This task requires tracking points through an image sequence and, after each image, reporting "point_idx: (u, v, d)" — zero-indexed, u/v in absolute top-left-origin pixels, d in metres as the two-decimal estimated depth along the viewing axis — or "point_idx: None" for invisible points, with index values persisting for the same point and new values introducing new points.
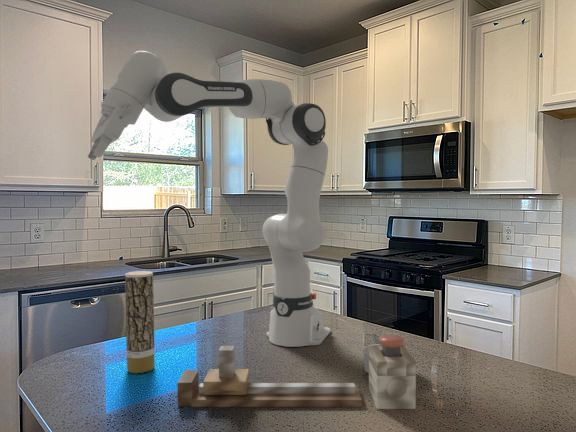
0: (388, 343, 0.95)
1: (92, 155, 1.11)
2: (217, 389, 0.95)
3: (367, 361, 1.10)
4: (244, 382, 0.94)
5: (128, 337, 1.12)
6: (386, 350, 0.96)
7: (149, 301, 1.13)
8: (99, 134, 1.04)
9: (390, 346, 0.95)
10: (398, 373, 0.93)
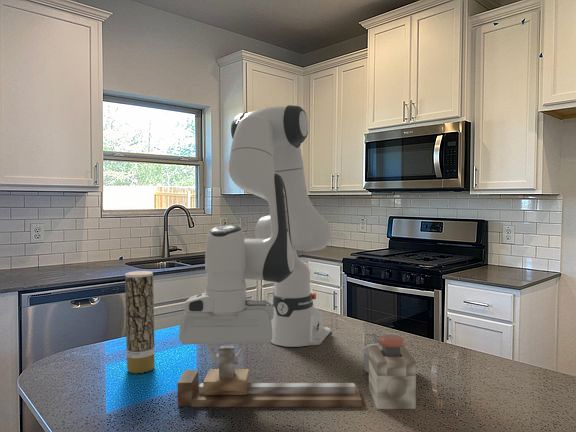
0: (388, 343, 0.95)
1: None
2: (217, 389, 0.95)
3: (367, 360, 1.11)
4: (244, 382, 0.94)
5: (128, 337, 1.12)
6: (386, 350, 0.96)
7: (149, 301, 1.13)
8: (243, 343, 0.96)
9: (390, 346, 0.95)
10: (398, 373, 0.93)
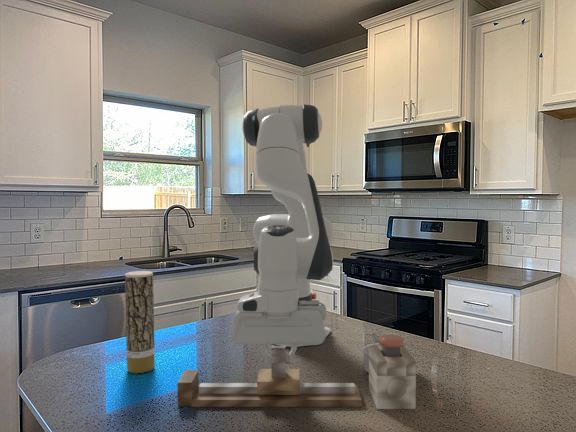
0: (388, 343, 0.95)
1: None
2: (271, 389, 0.94)
3: (367, 360, 1.11)
4: (298, 382, 0.94)
5: (128, 337, 1.12)
6: (386, 350, 0.96)
7: (149, 301, 1.13)
8: (296, 343, 0.96)
9: (390, 346, 0.95)
10: (398, 373, 0.93)
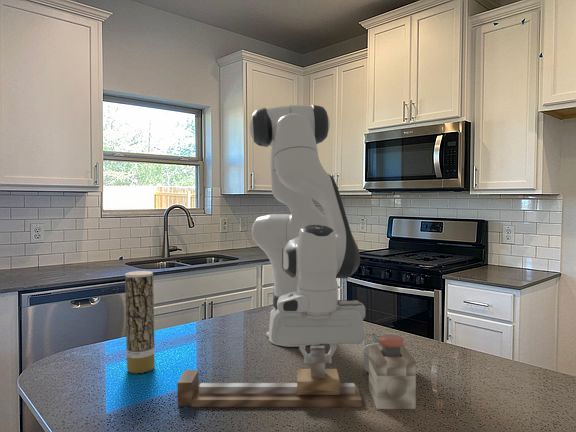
0: (388, 343, 0.95)
1: None
2: (311, 389, 0.94)
3: (366, 360, 1.11)
4: (338, 382, 0.94)
5: (128, 337, 1.12)
6: (386, 350, 0.96)
7: (149, 301, 1.13)
8: (336, 343, 0.96)
9: (390, 346, 0.95)
10: (398, 373, 0.93)
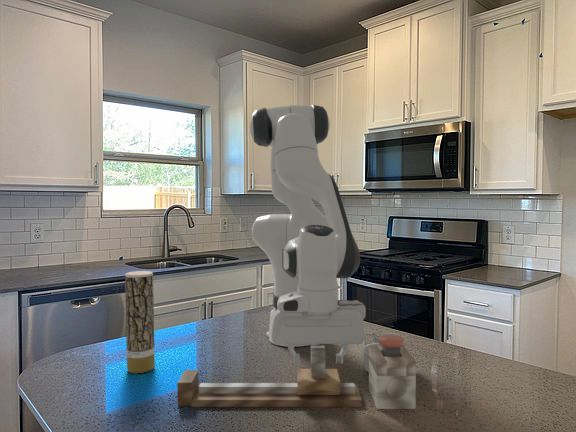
0: (388, 343, 0.95)
1: None
2: (311, 389, 0.94)
3: (366, 360, 1.11)
4: (338, 382, 0.94)
5: (128, 337, 1.12)
6: (386, 350, 0.96)
7: (149, 301, 1.13)
8: (336, 343, 0.96)
9: (390, 346, 0.95)
10: (398, 373, 0.93)
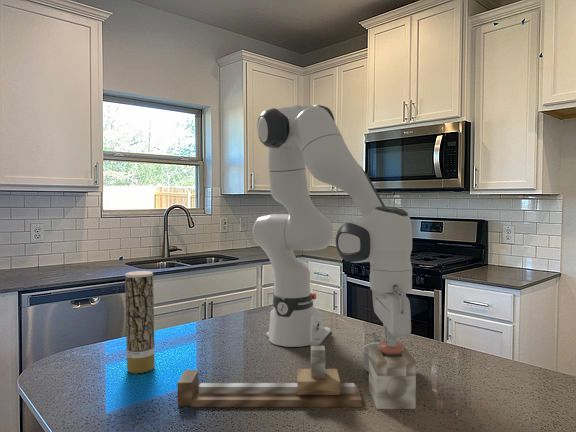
0: (388, 349, 0.95)
1: None
2: (311, 389, 0.94)
3: (366, 359, 1.11)
4: (338, 382, 0.94)
5: (128, 337, 1.12)
6: (386, 356, 0.96)
7: (149, 301, 1.13)
8: (386, 328, 0.93)
9: (390, 352, 0.95)
10: (398, 373, 0.93)
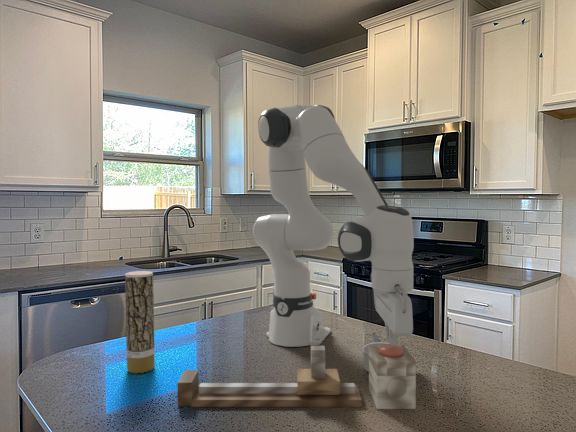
0: (388, 353, 0.95)
1: None
2: (311, 389, 0.94)
3: (366, 359, 1.12)
4: (338, 382, 0.94)
5: (128, 337, 1.12)
6: None
7: (149, 301, 1.13)
8: (388, 326, 0.93)
9: (390, 356, 0.95)
10: (398, 373, 0.93)
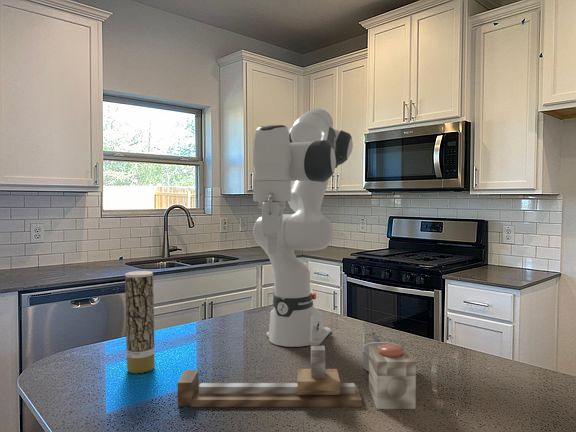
0: (388, 353, 0.95)
1: None
2: (311, 389, 0.94)
3: (366, 359, 1.12)
4: (338, 382, 0.94)
5: (128, 337, 1.12)
6: None
7: (149, 301, 1.13)
8: None
9: (390, 356, 0.95)
10: (398, 373, 0.93)
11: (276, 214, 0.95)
